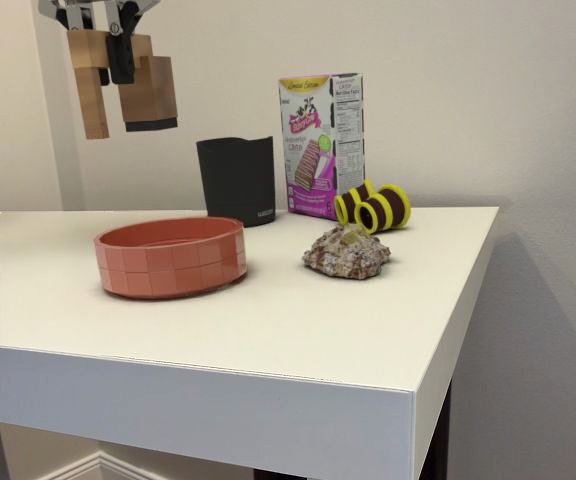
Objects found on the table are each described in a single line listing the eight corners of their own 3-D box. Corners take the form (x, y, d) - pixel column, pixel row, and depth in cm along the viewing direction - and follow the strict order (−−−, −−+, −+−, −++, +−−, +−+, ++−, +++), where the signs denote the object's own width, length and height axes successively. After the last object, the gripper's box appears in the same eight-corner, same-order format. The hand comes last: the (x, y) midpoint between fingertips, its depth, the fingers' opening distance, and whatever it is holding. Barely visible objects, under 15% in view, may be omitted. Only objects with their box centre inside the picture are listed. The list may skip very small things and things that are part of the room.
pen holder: (211, 232, 79) (200, 145, 75) (202, 219, 88) (192, 140, 83) (286, 223, 81) (280, 137, 77) (270, 211, 89) (264, 133, 85)
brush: (113, 138, 60) (95, 27, 57) (76, 140, 62) (56, 32, 58) (179, 127, 72) (168, 35, 69) (147, 128, 74) (134, 38, 70)
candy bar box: (285, 212, 88) (275, 78, 81) (315, 206, 90) (308, 75, 84) (336, 222, 79) (330, 72, 73) (368, 215, 82) (365, 70, 75)
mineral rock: (290, 233, 64) (368, 203, 63) (305, 274, 66) (380, 245, 65) (305, 263, 54) (396, 228, 54) (321, 309, 56) (410, 276, 56)
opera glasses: (335, 230, 79) (325, 189, 77) (373, 215, 80) (365, 175, 78) (373, 244, 71) (364, 199, 68) (415, 228, 72) (407, 183, 70)
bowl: (73, 301, 56) (62, 249, 54) (144, 262, 68) (137, 217, 66) (216, 303, 52) (209, 247, 51) (266, 261, 64) (262, 215, 62)
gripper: (-35, -151, 54) (17, 91, 62) (134, -187, 50) (168, 80, 57) (22, -127, 61) (63, 89, 69) (177, -157, 56) (202, 79, 64)
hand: (111, 83), depth 63 cm, fingers closed on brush, 2 cm apart
